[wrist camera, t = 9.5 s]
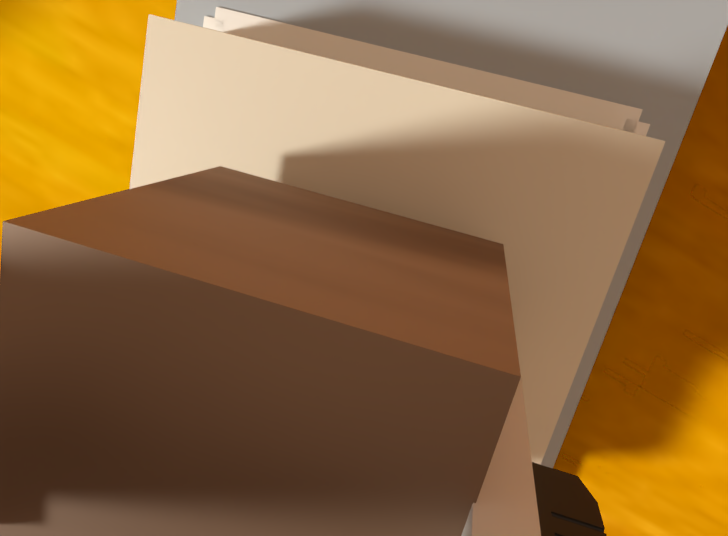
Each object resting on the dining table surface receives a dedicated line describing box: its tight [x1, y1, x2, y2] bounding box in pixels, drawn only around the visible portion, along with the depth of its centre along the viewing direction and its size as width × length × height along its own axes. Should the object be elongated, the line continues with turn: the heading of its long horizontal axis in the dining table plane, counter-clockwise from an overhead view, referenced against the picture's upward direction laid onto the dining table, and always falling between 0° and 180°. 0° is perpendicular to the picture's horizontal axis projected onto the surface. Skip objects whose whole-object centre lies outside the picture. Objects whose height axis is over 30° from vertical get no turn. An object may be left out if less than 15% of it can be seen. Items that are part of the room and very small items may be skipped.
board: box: [130, 0, 728, 468], centre depth 17 cm, size 20×14×5 cm
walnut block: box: [0, 166, 521, 536], centre depth 10 cm, size 6×6×6 cm
